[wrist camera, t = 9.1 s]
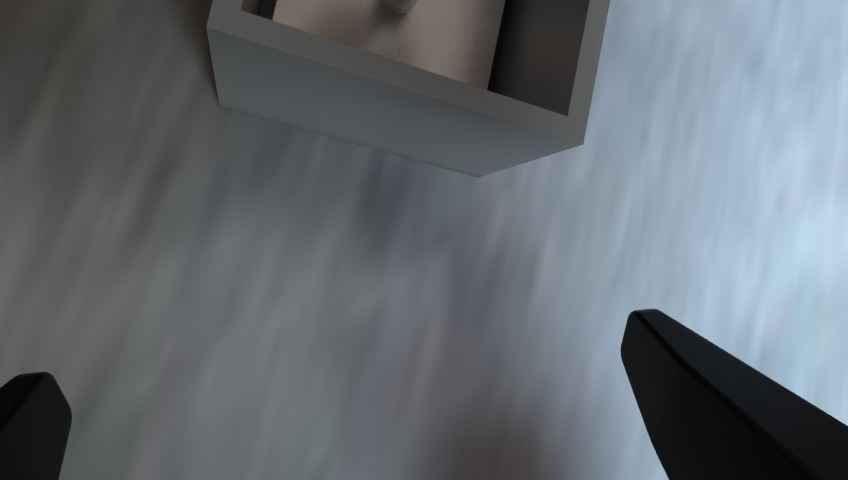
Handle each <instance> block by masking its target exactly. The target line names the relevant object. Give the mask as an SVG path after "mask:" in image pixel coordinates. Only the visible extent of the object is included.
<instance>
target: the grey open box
mask: <svg viewBox="0 0 848 480" xmlns="http://www.w3.org/2000/svg"><path fill="white" fill-rule="evenodd" d="M276 2H277V0H213V1H212V5H211V9H210V13H209V17H208V21H207V26H206V29H207V35H208V41H209V47H210V53H211V59H212V64H213V70H214V76H215V82H216V88H217V94H218V100H219V106H221V107H225V108H228V109H232V110H236V111H239V112H243V113H246V114H250V115H254V116H257V117H261V118H265V119H268V120H272V121H275V122H279V123H283V124H286V125H290V126H294V127H297V128H301V129H305V130H308V131H312V132H315V133H319V134H323V135H326V136H330V137H334V138H337V139H341V140H344V141H348V142H352V143H355V144H359V145H363V146H366V147H370V148H373V149H377V150H381V151H384V152H388V153H392V154H395V155H399V156H402V157H406V158H410V159H413V160H417V161H421V162H424V163H428V164H432V165H435V166H439V167H442V168H446V169H450V170H453V171H457V172H461V173H464V174H468V175H471V176H475V177H481V176H484V175H487V174H490V173H493V172H496V171H500V170H503V169H506V168H509V167H512V166H516V165H519V164H522V163H525V162H528V161H532V160H535V159H538V158H541V157H544V156H548V155H551V154H554V153H557V152H560V151H563V150H567V149H570V148H573V147H576V146H579V145H583V142H584V136H585V131H586V126H587V120H588V115H589V110H590V104H591V99H592V94H593V88H594V83H595V78H596V73H597V67H598V62H599V57H600V51H601V46H602V41H603V35H604V30H605V25H606V19H607V14H608V9H609V3H610V0H505V4H504V9H503V14H502V19H501V24H500V28H499V33H498V38H497V43H496V48H495V53H494V58H493V63H492V68H491V73H490V78H489V82H488V87H487V90H485V89H482V88H479V87H476V86H473V85H470V84H467V83H463V82H460V81H457V80H454V79H451V78H448V77H445V76H442V75H439V74H436V73H433V72H430V71H427V70H423V69H420V68H417V67H414V66H411V65H408V64H405V63H402V62H399V61H396V60H393V59H390V58H387V57H383V56H380V55H377V54H374V53H371V52H368V51H365V50H362V49H359V48H356V47H353V46H350V45H347V44H343V43H340V42H337V41H334V40H331V39H328V38H325V37H322V36H319V35H316V34H313V33H310V32H306V31H303V30H300V29H297V28H294V27H291V26H288V25H285V24H282V23H279V22H276V21H273V20H272V19H273V15H274V11H275V6H276Z"/></svg>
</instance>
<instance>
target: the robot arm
mask: <svg viewBox="0 0 848 480" xmlns="http://www.w3.org/2000/svg"><path fill="white" fill-rule="evenodd" d="M621 358H622V362H623V364H624V367H625V370H626V373H627V376H628V379H629V381H630V384H631V387H632V390H633V393H634V395H635V398H636V401H637V404H638V407H639V409H640V412H641V415H642V418H643V421H644V423H645V426H646V429H647V432H648V434H649V437H650V439H651V442H652V444H653V447H654V449H655V451H656V453H657V455H658V458H659V460H660V462H661V464H662V466H663V468H664V470H665V472H666V474H667V476H668V478H669V480H848V426H847V425H845V424H844V423H842V422H840V421H839V420H837V419H835V418H834V417H832V416H831V415H829V414H827V413H826V412H824V411H822V410H821V409H819V408H818V407H816V406H814V405H813V404H811V403H809V402H808V401H806V400H804V399H803V398H801V397H800V396H798V395H796V394H795V393H793V392H791V391H790V390H788V389H787V388H785V387H783V386H782V385H780V384H778V383H777V382H775V381H774V380H772V379H770V378H769V377H767V376H765V375H764V374H762V373H761V372H759V371H757V370H756V369H754V368H752V367H751V366H749V365H747V364H746V363H744V362H743V361H741V360H739V359H738V358H736V357H734V356H733V355H731V354H730V353H728V352H726V351H725V350H723V349H721V348H720V347H718V346H717V345H715V344H713V343H712V342H710V341H708V340H707V339H705V338H704V337H702V336H700V335H699V334H697V333H695V332H694V331H692V330H690V329H689V328H687V327H686V326H684V325H682V324H681V323H679V322H677V321H676V320H674V319H673V318H671V317H669V316H668V315H666V314H664V313H663V312H661V311H659V310H657V309H644V310H635V311H633V312H631V313H630V315H629V316H628V320H627V324H626V328H625V332H624V336H623V340H622V344H621ZM71 422H72V413H71V408H70V406H69V404H68V402H67V400H66V398H65V396H64V395H63V393H62V391H61V389H60V387H59V385H58V383H57V382H56V380H55V378H54V377H53V375H51V374H50V373H48V372H36V373H27V374H21V375H18V376H15V377H14V378H13V379H11V380H10V381H8V382H7V383H6V384H5V385H3V386H2V387H1V388H0V480H59V476H60V471H61V467H62V463H63V458H64V454H65V449H66V445H67V441H68V436H69V432H70V427H71Z"/></svg>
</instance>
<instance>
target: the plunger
mask: <svg viewBox="0 0 848 480" xmlns="http://www.w3.org/2000/svg"><path fill="white" fill-rule="evenodd" d="M504 4H505V0H277V2H276V6H275V11H274V15H273V19H272V20H273V21H276V22H279V23H282V24H285V25H288V26H291V27H294V28H297V29H300V30H303V31H306V32H310V33H313V34H316V35H319V36H322V37H325V38H328V39H331V40H334V41H337V42H340V43H343V44H347V45H350V46H353V47H356V48H359V49H362V50H365V51H368V52H371V53H374V54H377V55H380V56H383V57H387V58H390V59H393V60H396V61H399V62H402V63H405V64H408V65H411V66H414V67H417V68H420V69H423V70H427V71H430V72H433V73H436V74H439V75H442V76H445V77H448V78H451V79H454V80H457V81H460V82H463V83H467V84H470V85H473V86H476V87H479V88H482V89H485V90H487V87H488V82H489V78H490V73H491V68H492V63H493V58H494V53H495V48H496V43H497V38H498V33H499V28H500V24H501V19H502V14H503V9H504Z"/></svg>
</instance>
